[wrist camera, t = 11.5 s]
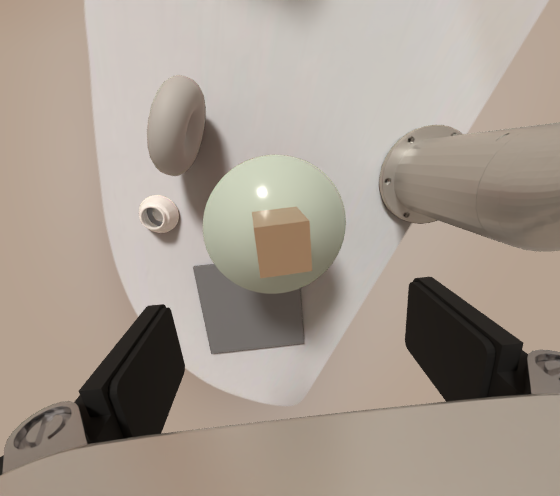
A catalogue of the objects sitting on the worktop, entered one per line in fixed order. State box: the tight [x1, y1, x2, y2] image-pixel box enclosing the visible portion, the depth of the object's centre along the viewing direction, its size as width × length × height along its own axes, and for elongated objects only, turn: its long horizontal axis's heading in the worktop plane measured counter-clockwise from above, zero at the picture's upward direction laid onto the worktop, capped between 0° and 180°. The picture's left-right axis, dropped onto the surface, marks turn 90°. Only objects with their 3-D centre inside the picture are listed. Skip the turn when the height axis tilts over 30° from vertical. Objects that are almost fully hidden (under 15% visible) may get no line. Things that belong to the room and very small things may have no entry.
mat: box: [193, 264, 304, 354], centre depth 41 cm, size 15×15×1 cm
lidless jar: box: [139, 195, 179, 233], centre depth 35 cm, size 5×3×5 cm
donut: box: [147, 75, 206, 176], centre depth 28 cm, size 10×4×10 cm, turn 162°
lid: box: [203, 155, 346, 294], centre depth 22 cm, size 13×13×6 cm
